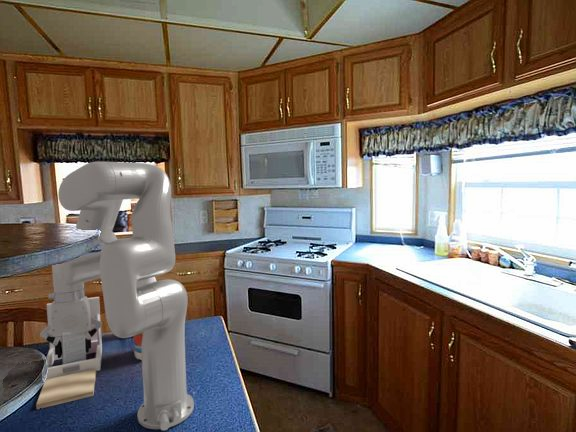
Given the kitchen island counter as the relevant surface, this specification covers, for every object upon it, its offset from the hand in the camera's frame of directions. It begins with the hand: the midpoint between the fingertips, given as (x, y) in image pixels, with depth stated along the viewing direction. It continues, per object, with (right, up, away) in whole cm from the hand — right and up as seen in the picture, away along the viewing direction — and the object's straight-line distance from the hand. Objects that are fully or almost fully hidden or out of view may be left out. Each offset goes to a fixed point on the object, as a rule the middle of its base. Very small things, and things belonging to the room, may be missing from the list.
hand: (73, 353), depth 103 cm
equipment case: (0, -4, 0) cm, 4 cm away
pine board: (+6, -5, -12) cm, 14 cm away
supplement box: (0, -4, 0) cm, 4 cm away
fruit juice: (+20, -3, +7) cm, 22 cm away
